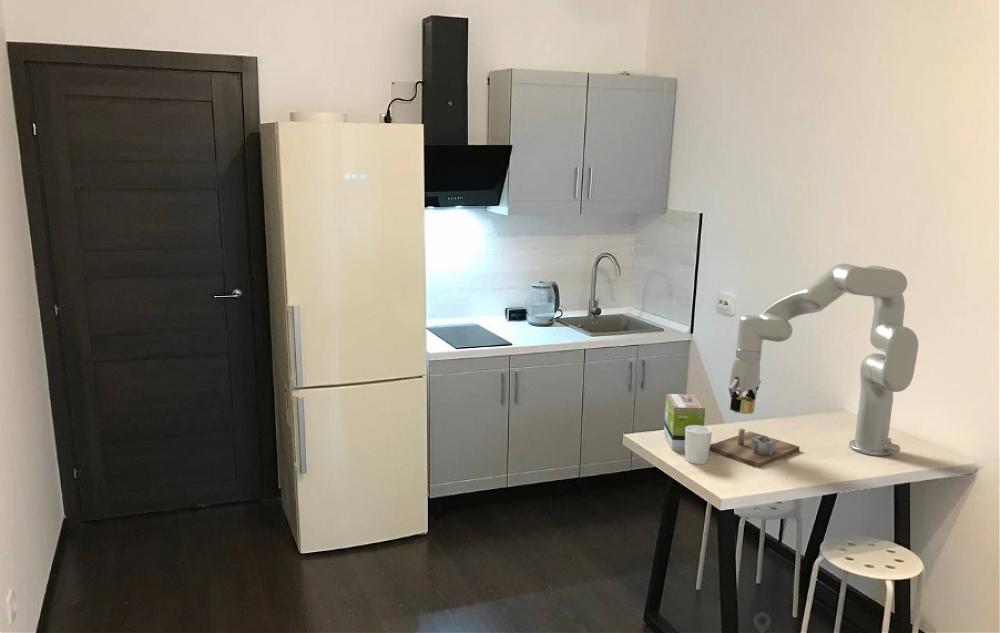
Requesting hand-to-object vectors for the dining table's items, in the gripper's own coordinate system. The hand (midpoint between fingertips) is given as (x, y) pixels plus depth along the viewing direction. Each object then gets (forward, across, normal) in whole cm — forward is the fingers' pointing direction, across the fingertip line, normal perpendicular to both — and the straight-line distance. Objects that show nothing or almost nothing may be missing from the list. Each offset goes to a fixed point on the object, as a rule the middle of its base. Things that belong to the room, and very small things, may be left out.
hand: (742, 408), depth 240 cm
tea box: (+14, +10, -14) cm, 23 cm away
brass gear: (+1, 0, 0) cm, 1 cm away
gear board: (+14, -3, +4) cm, 14 cm away
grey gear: (+12, -1, +8) cm, 15 cm away
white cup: (+14, +19, -2) cm, 24 cm away
